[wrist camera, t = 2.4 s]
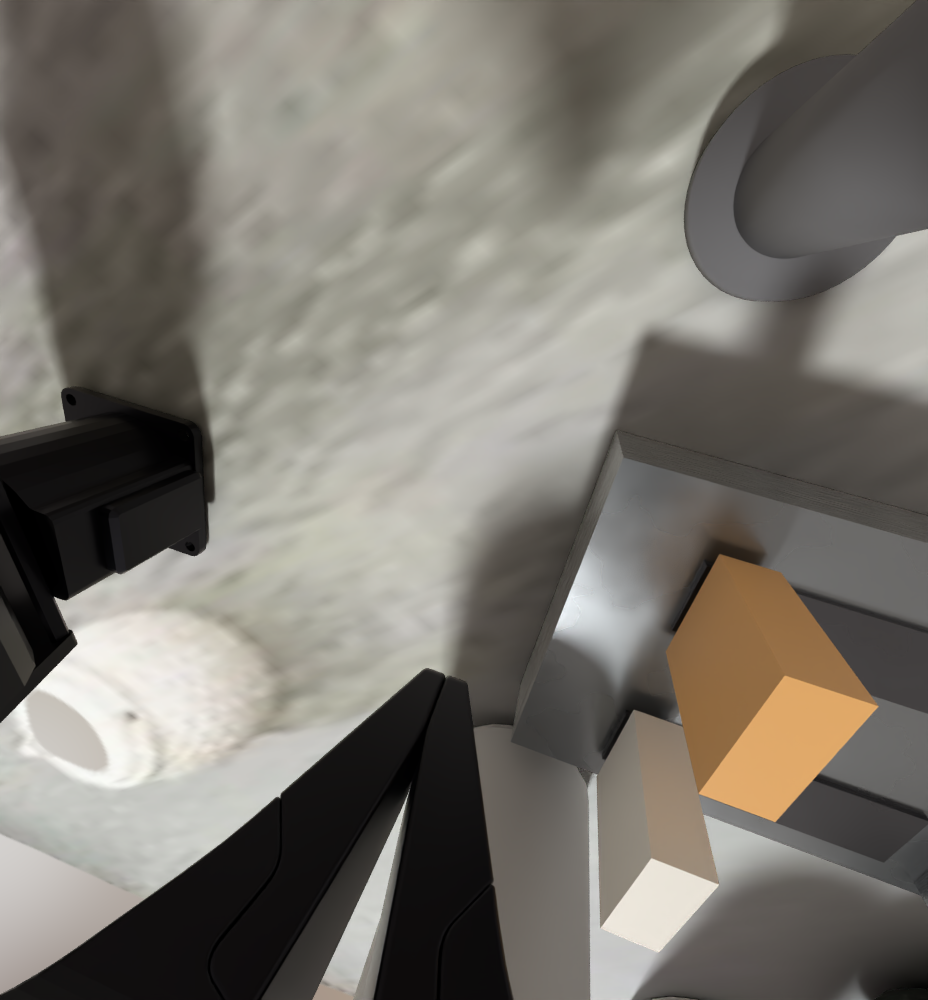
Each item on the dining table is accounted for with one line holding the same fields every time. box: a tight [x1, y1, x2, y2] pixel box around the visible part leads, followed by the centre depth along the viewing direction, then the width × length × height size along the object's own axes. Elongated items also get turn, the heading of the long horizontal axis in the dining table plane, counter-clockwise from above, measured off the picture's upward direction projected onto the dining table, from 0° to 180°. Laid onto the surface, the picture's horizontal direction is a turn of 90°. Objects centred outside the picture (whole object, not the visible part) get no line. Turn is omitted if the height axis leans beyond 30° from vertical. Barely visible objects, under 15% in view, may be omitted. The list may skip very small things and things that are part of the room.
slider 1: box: [597, 710, 719, 953], centre depth 14 cm, size 2×4×4 cm, turn 167°
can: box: [353, 724, 590, 1000], centre depth 17 cm, size 8×8×12 cm
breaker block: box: [511, 430, 928, 907], centre depth 15 cm, size 16×12×4 cm
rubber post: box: [684, 0, 928, 302], centre depth 7 cm, size 5×5×10 cm
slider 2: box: [666, 554, 878, 822], centre depth 11 cm, size 2×4×4 cm, turn 167°
